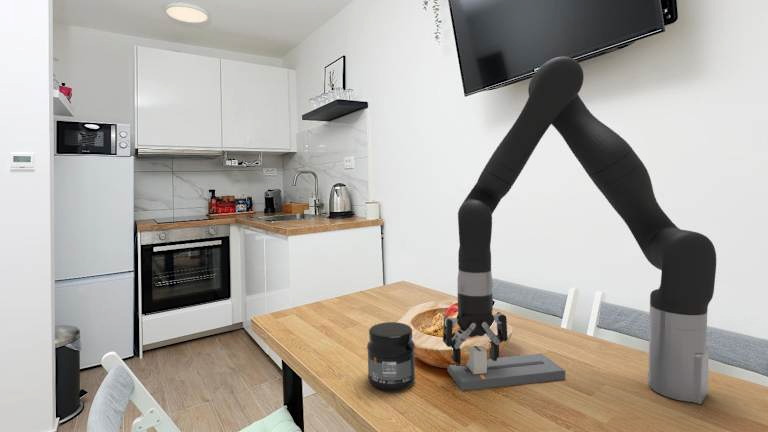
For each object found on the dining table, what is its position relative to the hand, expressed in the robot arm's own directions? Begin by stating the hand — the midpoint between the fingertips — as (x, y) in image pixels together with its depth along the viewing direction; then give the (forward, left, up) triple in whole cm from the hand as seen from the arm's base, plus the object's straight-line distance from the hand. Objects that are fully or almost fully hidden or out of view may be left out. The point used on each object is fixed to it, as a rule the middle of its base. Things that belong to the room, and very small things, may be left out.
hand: (475, 361), depth 84 cm
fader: (0, 0, -2) cm, 2 cm away
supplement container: (+11, +15, -4) cm, 19 cm away
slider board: (-4, -6, -4) cm, 8 cm away
